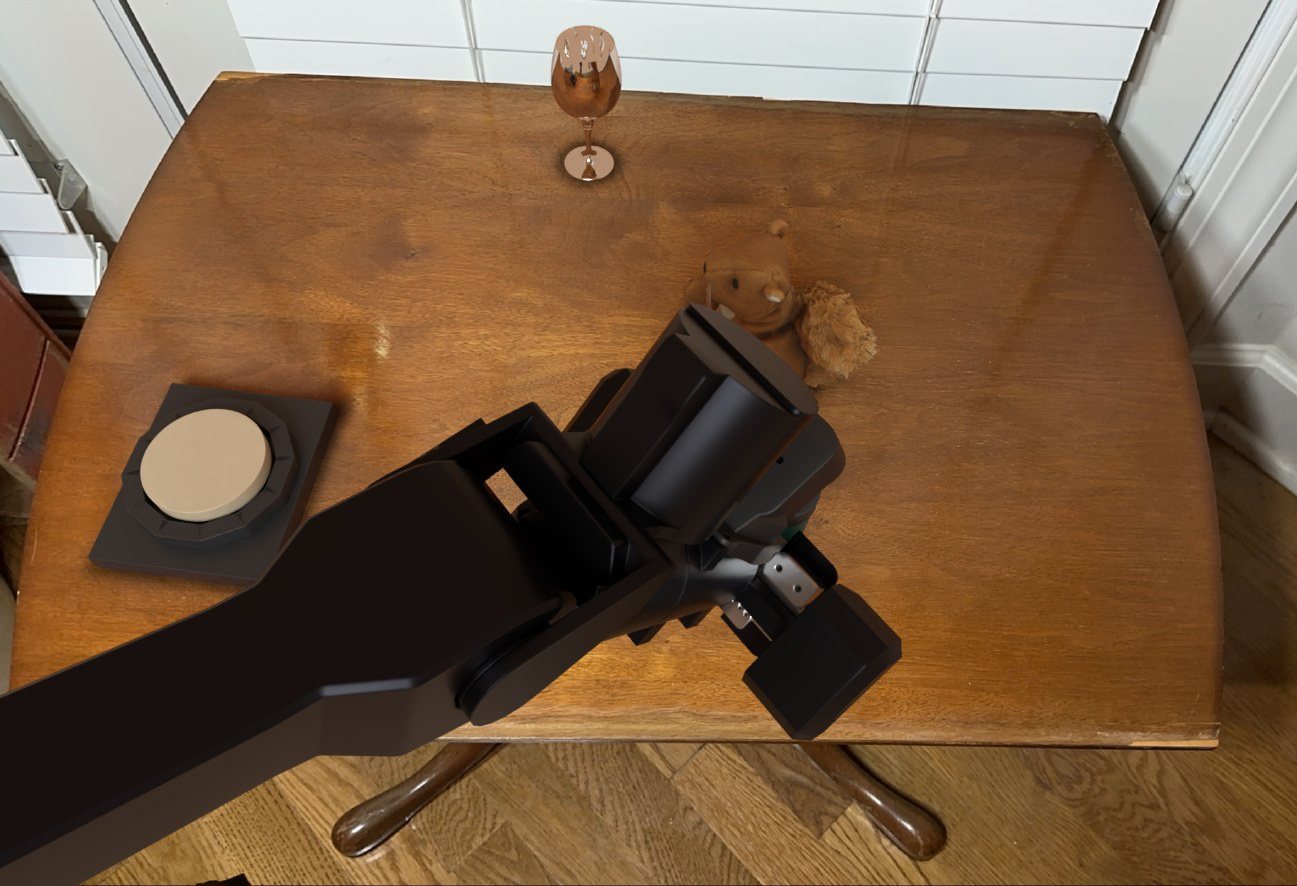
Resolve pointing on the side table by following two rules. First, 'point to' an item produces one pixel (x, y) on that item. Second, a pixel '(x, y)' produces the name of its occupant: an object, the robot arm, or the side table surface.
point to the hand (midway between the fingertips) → (786, 528)
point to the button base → (241, 538)
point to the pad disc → (206, 465)
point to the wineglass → (586, 91)
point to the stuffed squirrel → (784, 307)
